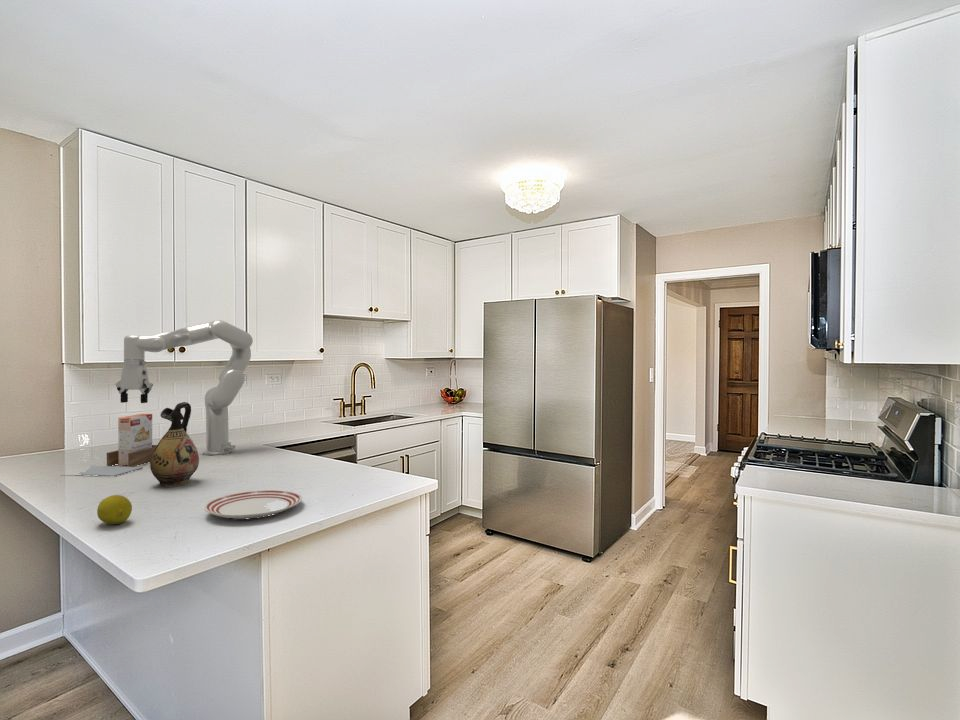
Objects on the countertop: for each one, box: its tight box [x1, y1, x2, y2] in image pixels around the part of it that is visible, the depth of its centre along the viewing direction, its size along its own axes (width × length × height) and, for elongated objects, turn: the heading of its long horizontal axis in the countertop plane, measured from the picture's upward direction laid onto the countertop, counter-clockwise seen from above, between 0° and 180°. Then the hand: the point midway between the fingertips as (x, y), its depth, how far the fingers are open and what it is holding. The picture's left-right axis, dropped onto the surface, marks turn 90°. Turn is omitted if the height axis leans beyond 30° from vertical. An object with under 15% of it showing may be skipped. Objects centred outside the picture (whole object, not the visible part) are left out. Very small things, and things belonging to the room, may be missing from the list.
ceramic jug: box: [149, 401, 200, 488], centre depth 187 cm, size 17×15×30 cm
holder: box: [106, 444, 158, 467], centre depth 221 cm, size 11×19×6 cm, turn 172°
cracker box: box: [117, 413, 153, 467], centre depth 221 cm, size 14×6×21 cm, turn 179°
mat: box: [79, 465, 144, 477], centre depth 204 cm, size 24×14×1 cm, turn 82°
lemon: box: [96, 494, 133, 525], centre depth 143 cm, size 11×8×8 cm
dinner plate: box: [203, 489, 303, 520], centre depth 155 cm, size 27×27×3 cm
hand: (134, 402), depth 220 cm, fingers open, 9 cm apart
